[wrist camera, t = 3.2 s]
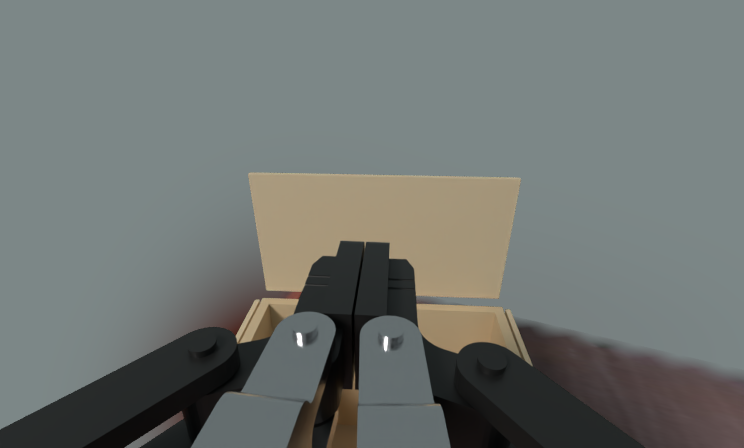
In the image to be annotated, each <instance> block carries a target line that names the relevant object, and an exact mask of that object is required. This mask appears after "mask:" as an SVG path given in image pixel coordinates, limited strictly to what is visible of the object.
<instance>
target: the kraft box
mask: <svg viewBox="0 0 744 448" xmlns="http://www.w3.org/2000/svg"><path fill="white" fill-rule="evenodd" d="M298 301H299V299H276V298H263V299H262V301H261V303H260V300H255V301H254V303H253V305H252V307H251V309H250V311H249V313H248V314H247V316H246V318H245V320H244V322H243V324H242V326H241V327H240V329H239V331H238V333H237V335H236V339H237V344H238V343H244V342H249V341H255V340H260V339H264V338H267V337H270V336H272V334H273V332H274V330H275V328H276V327H277V325H278V324H279V323H280V322H281V321H282V320H283V319H285V318H286V317H288V316H290V315H293V314H294V311H295V309H296V306H297V303H298ZM417 319H418V328H419V330H420V332H421V334H422V335H423V336H424V338H425V339H427V340H428V341H429V342H430V343H432V344H433V345H435V346H437V347H439V348H442V349H445V350H448V351H451V352H455V353H459V351H460V350H461V349H462V348H463V347H465V346H466V345H468V344H471V343H475V342H489V343H494V344H498V345H500V346H503V347H505V348H507V349H509V350H510V351H512V352H513V353H515V354H516V355H518V356H519V357H520V358H522V359H523V360H524V361H526V362H527V363H529V364H530V365H531V366H533V365H532V363H531V360H530V358H529V355H528V353H527V350H526V348H525V345H524V343H523V340H522V338H521V335H520V333H519V330H518V328H517V325H516V323H515V320H514V318H513V315H512V313H511V311H510V309H506V310H505V313H504V310H503V308H502V307H489V306H488V307H487V306H462V305H436V304H417ZM358 400H359V390H355V373H354V381H353V388H352V390H351V389H342V395H341V401H340V405H339V408H338V421H337V425H336V429H335V433H334V437H333V441H332V445H331V448H357V420H358Z"/></svg>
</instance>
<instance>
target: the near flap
mask: <svg viewBox="0 0 744 448" xmlns="http://www.w3.org/2000/svg"><path fill="white" fill-rule="evenodd" d="M248 177H249V182H250V189H251V195H252V201H253V208H254V214H255V221H256V227H257V233H258V240H259V246H260V251H261V258H262V265H263V270H264V277H265V284H266V289H267V290H271V291H298V292H302V290H303V288H304V286H305V282H306V280H307V277H308V274H309V272H310V269H311V267H312V264H313V263H315V262H316V261H317V260H318V259H319V258H321V257H322V256H336V255H337V251H338V248H339V244H340V241H362V242H365V245H366V242H388V243H390V249H389V259H407V260H408V262H409V263H410V264H411V265H412V267H413V268H414V274H415V291H416V296H436V297H463V298H465V297H466V298H493V299H499V295H500V290H501V285H502V279H503V274H504V268H505V263H506V258H507V252H508V247H509V241H510V236H511V231H512V225H513V220H514V214H515V209H516V204H517V197H518V193H519V187H520V182H521V179H520V178H508V177H456V176H455V177H454V176H453V177H452V176H404V175H353V174H351V175H349V174H302V173H299V174H298V173H249V174H248Z"/></svg>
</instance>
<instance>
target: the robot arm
mask: <svg viewBox="0 0 744 448" xmlns="http://www.w3.org/2000/svg"><path fill="white" fill-rule="evenodd" d="M389 249H390V243H388V242H366V245H365V242H362V241H340V244H339V248H338V251H337V255H336V256H322V257H321V258H319V259H318V260H317V261H316V262H315V263H313V264H312V267H311V269H310V272H309V274H308V277H307V280H306V282H305V286H304V288H303V290H302V293H301V295H300V298H299V301H298V303H297V306H296V309H295V311H294V314H293V315H290V316H288V317H286V318H285V319H283V320H282V321H281V322H280V323H279V324H278V325H277V327H276V328H275V330H274V332H273V334H272V336H270V337H267V338H264V339H260V340H255V341H249V342H244V343H238V344H237V339H236V337H235V335H234V334H233V333H232V332H231V331H229V330H227V329H224V328H220V327H208V328H203V329H198V330H195V331H193V332H190V333H188V334H186V335H184V336H182V337H180V338H179V339H176V340H174V341H173V342H171V343H169V344H167V345H165V346H163V347H161V348H159V349H157V350H155V351H153V352H151V353H149V354H147V355H145V356H143V357H141V358H139V359H137V360H135V361H134V362H132V363H130V364H128V365H126V366H124V367H122V368H120V369H118V370H116V371H114V372H112V373H110V374H108V375H106V376H104V377H102V378H100V379H99V380H96V381H94V382H92V383H91V384H89V385H87V386H85V387H83V388H81V389H79V390H77V391H75V392H73V393H71V394H69V395H67V396H65V397H63V398H61V399H59V400H57V401H55V402H53V403H51V404H50V405H48V406H45V407H44V408H42V409H40V410H38V411H36V412H34V413H32V414H30V415H28V416H26V417H24V418H22V419H20V420H18V421H16V422H14V423H12V424H10V425H9V426H7V427H4V428H2V429H1V430H0V448H124V447H126V446H127V445H129V444H130V443H132V442H133V441H135V440H137V439H138V438H140V437H141V436H143V435H144V434H146V433H147V432H149V431H151V430H152V429H154V428H155V427H157V426H158V425H160V424H161V423H163V422H165V421H166V420H168V419H169V418H171V417H172V416H174V415H176V414H177V413H179V412H180V411H182V414H183V417H184V419H183V420H181V421H179V422H178V423H176V424H175V425H173V426H172V427H170V428H169V429H167V430H166V431H164V432H163V433H161V434H160V435H158V436H157V437H155V438H154V439H152V440H151V441H149V442H147V443H146V444H145V445H143V446H141V447H140V448H331V445H332V441H333V437H334V433H335V429H336V425H337V421H338V408H339V405H340V401H341V395H342V389H351V390H352V388H353V381H354V373H355V390H359V400H358V420H357V448H645V447H644V446H642V445H641V444H640V443H638V442H637V441H635V440H634V439H633V438H631V437H630V436H628V435H627V434H626V433H624V432H623V431H622V430H620V429H619V428H617V427H616V426H615V425H613V424H612V423H610V422H609V421H608V420H606V419H605V418H603V417H602V416H601V415H599V414H598V413H597V412H595V411H594V410H592V409H591V408H590V407H588V406H587V405H585V404H584V403H583V402H581V401H580V400H579V399H577V398H576V397H574V396H573V395H572V394H570V393H569V392H567V391H566V390H565V389H563V388H562V387H561V386H559V385H558V384H556V383H555V382H554V381H552V380H551V379H549V378H548V377H547V376H545V375H544V374H543V373H541V372H540V371H538V370H537V369H536V368H534V367H533V366H531V365H530V364H529V363H527V362H526V361H524V360H523V359H522V358H520V357H519V356H518V355H516V354H515V353H513V352H512V351H510V350H509V349H507V348H505V347H503V346H500V345H498V344H494V343H489V342H475V343H471V344H468V345H466V346H465V347H463V348H462V349H461V350H460V351H459V353H455V352H451V351H448V350H445V349H442V348H439V347H437V346H435V345H433V344H432V343H430V342H429V341H428V340H427V339H425V338H424V336H423V335H422V334H421V332H420V330H419V328H418V319H417V304H416V291H415V274H414V268H413V267H412V265H411V264H410V263H409V262H408V260H407V259H389Z"/></svg>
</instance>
